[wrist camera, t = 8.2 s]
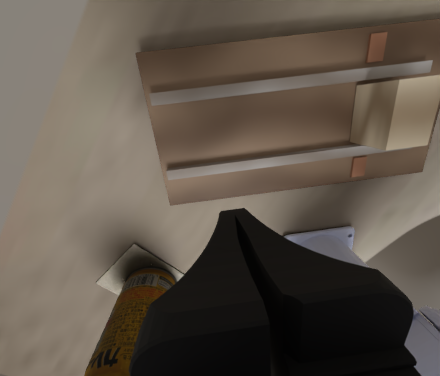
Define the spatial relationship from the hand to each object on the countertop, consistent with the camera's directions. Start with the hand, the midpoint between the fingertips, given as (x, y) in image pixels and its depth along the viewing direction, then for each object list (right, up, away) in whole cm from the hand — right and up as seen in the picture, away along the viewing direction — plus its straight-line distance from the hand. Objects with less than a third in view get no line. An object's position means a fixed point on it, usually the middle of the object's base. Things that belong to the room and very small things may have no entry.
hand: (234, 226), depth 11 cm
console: (+6, +8, +7) cm, 12 cm away
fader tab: (+12, +8, +6) cm, 16 cm away
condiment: (-9, -9, +13) cm, 18 cm away
